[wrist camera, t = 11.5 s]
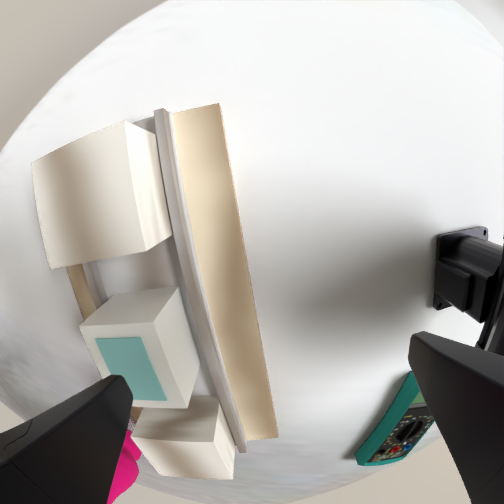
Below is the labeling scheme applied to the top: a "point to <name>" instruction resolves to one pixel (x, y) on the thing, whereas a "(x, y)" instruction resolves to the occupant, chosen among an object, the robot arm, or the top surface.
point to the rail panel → (166, 269)
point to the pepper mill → (125, 468)
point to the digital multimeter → (397, 427)
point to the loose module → (146, 345)
